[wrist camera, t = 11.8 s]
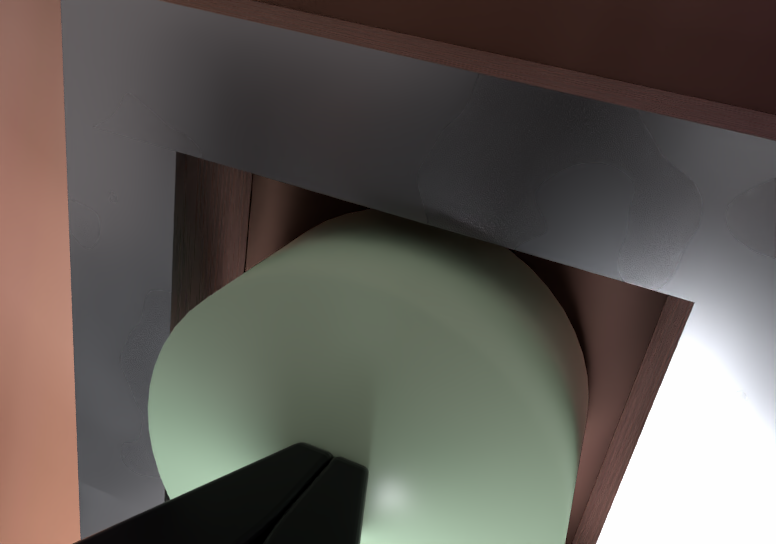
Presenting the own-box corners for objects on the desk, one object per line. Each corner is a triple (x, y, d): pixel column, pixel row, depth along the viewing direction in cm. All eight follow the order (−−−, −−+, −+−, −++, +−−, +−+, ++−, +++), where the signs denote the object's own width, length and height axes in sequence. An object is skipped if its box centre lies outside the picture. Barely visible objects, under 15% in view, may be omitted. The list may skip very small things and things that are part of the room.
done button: (239, 452, 11) (145, 555, 9) (266, 165, 9) (151, 215, 7) (533, 573, 10) (499, 723, 8) (642, 273, 8) (635, 371, 6)
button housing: (150, 486, 13) (81, 553, 11) (161, -20, 9) (60, -23, 8) (628, 697, 11) (622, 817, 9) (907, 143, 7) (977, 186, 5)
